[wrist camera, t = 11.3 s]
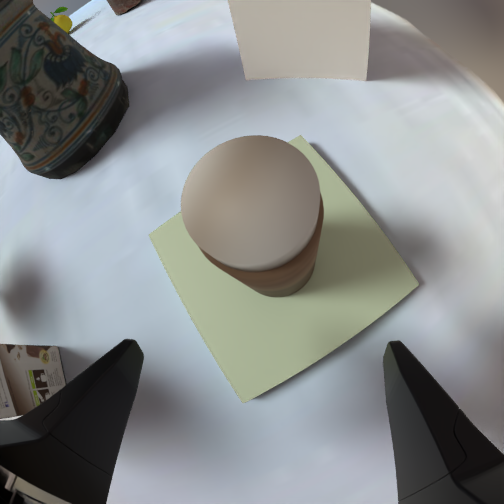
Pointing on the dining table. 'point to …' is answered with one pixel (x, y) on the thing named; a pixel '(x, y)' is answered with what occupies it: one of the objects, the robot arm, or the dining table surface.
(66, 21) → the lemon
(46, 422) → the robot arm
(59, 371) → the coffee box
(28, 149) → the beer stein
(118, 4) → the candle
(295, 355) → the serving board
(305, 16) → the milk
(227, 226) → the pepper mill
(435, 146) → the dining table surface
